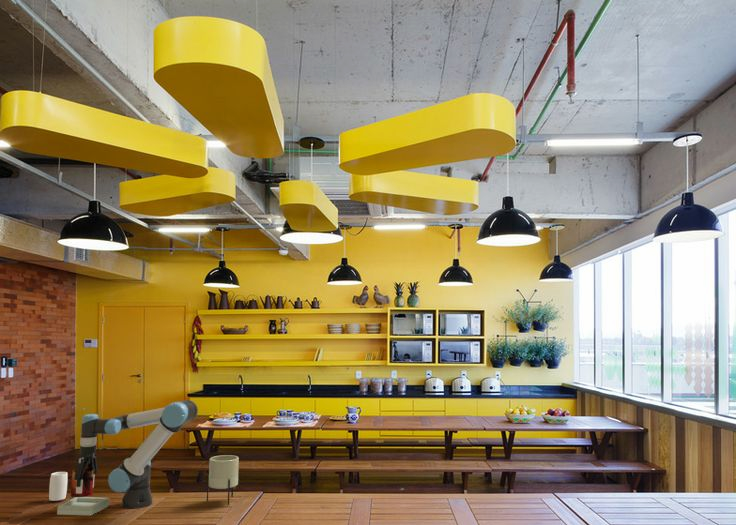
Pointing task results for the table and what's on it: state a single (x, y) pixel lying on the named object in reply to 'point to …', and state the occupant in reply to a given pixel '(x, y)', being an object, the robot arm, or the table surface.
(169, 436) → the robot arm
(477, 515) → the table surface
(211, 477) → the planter
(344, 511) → the table surface
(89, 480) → the mug
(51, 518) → the table surface
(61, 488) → the cup
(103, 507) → the tray
